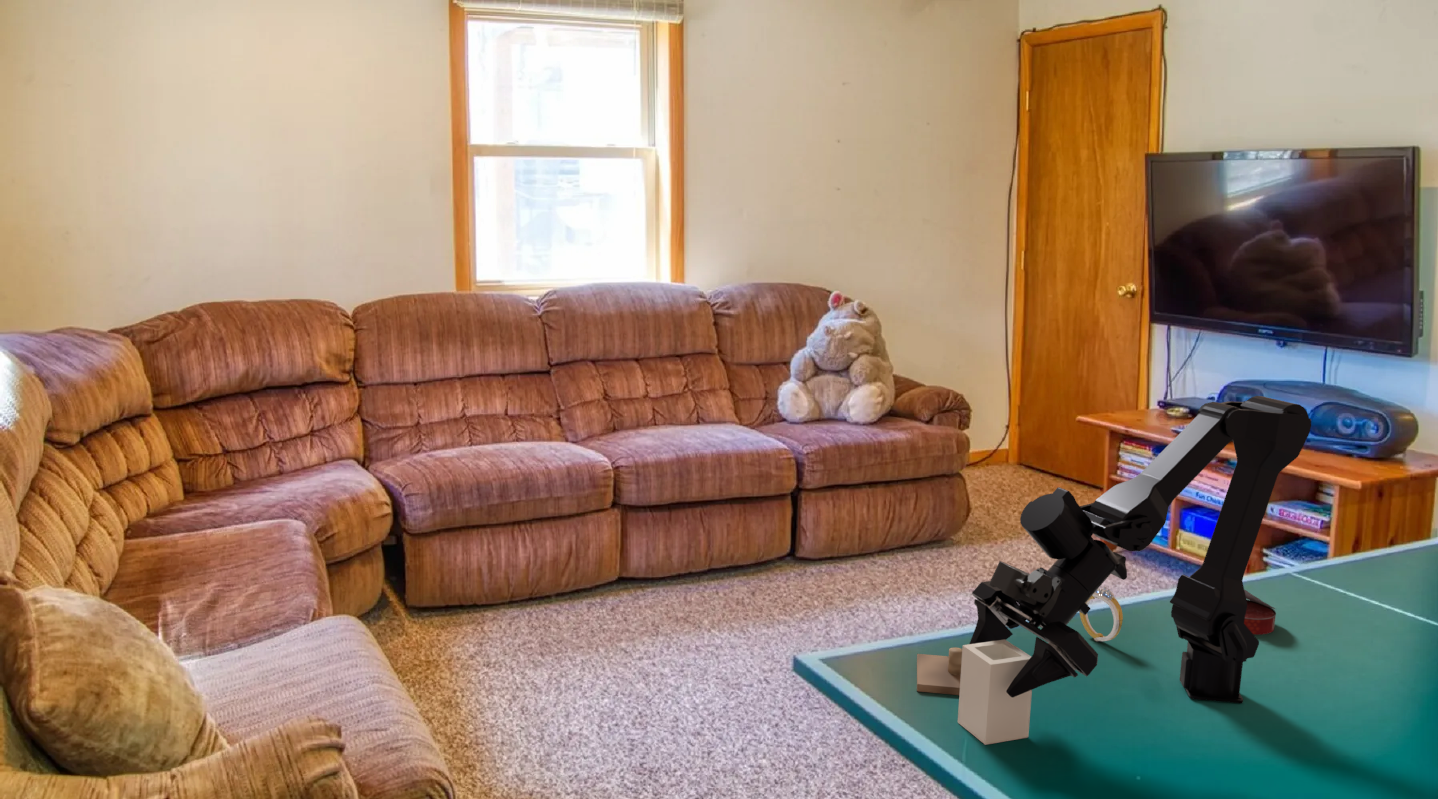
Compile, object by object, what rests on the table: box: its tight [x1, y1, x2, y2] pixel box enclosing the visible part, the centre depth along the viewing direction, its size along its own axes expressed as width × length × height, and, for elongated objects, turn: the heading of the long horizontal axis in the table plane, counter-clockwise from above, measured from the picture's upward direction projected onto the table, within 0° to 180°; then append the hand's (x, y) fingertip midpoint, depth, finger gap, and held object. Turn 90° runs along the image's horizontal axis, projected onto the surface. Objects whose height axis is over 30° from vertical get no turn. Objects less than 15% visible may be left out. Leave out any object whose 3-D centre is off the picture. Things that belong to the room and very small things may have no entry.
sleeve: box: [957, 639, 1033, 746], centre depth 139 cm, size 6×6×10 cm
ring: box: [1079, 586, 1124, 642], centre depth 167 cm, size 7×3×8 cm, turn 25°
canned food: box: [1244, 588, 1277, 636], centre depth 176 cm, size 10×9×9 cm
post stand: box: [916, 646, 962, 696], centre depth 154 cm, size 10×10×4 cm
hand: (986, 678), depth 138 cm, fingers open, 9 cm apart
